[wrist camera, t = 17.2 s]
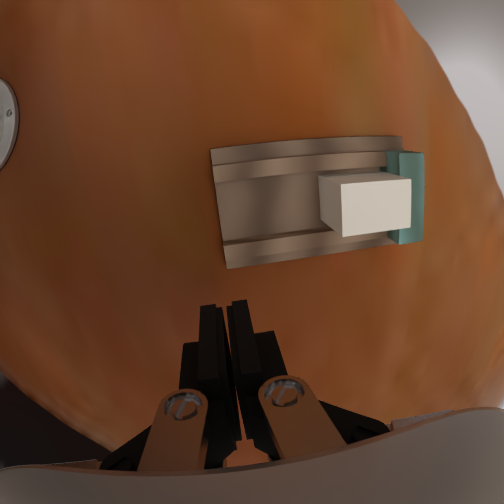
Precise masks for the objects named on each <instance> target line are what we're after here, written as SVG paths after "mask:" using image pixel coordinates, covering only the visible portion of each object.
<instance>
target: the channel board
mask: <svg viewBox="0 0 504 504" xmlns="http://www.w3.org/2000/svg"><path fill="white" fill-rule="evenodd" d="M210 150H211V158H212V167H213V175H214V182H215V188H216V195H217V203H218V210H219V217H220V224H221V231H222V238H223V246H224V253H225V260H226V265H227V269H232V268H239V267H246V266H252V265H259V264H266V263H273V262H279V261H286V260H293V259H299V258H306V257H312V256H319V255H325V254H332V253H338V252H345V251H351V250H358V249H364V248H370V247H376V246H383V245H389V244H395V243H397V244H399V245H400V244H406V243H412V242H418V241H422V237H423V218H424V153H420V152H413V151H406V150H403V147H402V136H358V137H332V138H314V139H300V140H287V141H276V142H265V143H256V144H247V145H238V146H230V147H222V148H215V149H210ZM369 171H383V172H387V173H391V174H395V175H398V176H402V177H406V178H409V179H411V227H410V228H403V229H396V230H389V231H382V232H375V233H368V234H361V235H354V236H346V237H342V236H341V235H339V234H338V233H337V232H336V231H334V230H333V229H332V228H331V227H330V226H328V225H327V224H326V223H325V222H323V221H322V220H321V215H320V198H319V182H318V175H329V174H341V173H354V172H369Z"/></svg>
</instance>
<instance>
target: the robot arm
mask: <svg viewBox="0 0 504 504" xmlns="http://www.w3.org/2000/svg"><path fill="white" fill-rule="evenodd" d="M18 122H19V113H18V104H17V99H16V97H15V94H14V91H13V90H12V88H11V87H10V85H9V84H8V83H7V82H6V81H4V80H2V79H0V169H1V168H2V167H3V166H4V164H5V163H6V161H7V160H8V158H9V156H10V154H11V152H12V149H13V146H14V143H15V140H16V136H17V131H18ZM226 307H227V317H228V328H229V338H230V347H231V353H230V348H229V343H228V337H227V332H226V327H225V321H224V316H223V310H222V307H218V308H216V304H212V305H204V306H200V325H199V341H198V342H190V343H184V344H183V351H182V361H181V371H180V382H179V390H176V391H173V392H171V393H169V394H168V395H166V396H165V397H164V398H163V399H162V400H161V402H160V404H159V406H158V409H157V412H156V415H155V418H154V421H153V424H152V425H151V426H149V427H148V428H147V429H145V430H144V431H143V432H141V433H140V434H138V435H137V436H136V437H134V438H133V439H131V440H130V441H128V442H127V443H126V444H124V445H123V446H121V447H120V448H118V449H117V450H115V451H114V452H112V453H111V454H110V455H108V456H107V457H106V458H105V459H104V460H103V461H102V462H98V461H97V460H96V459H95V460H88V461H80V462H69V463H59V464H47V465H21V466H14V467H8V468H4V469H1V470H0V504H504V409H501V408H497V407H476V408H466V409H462V410H457V411H454V410H445V411H440V412H436V413H430V414H425V415H420V416H414V417H408V418H402V419H395V420H392V421H391V423H390V424H384V423H382V422H380V421H378V420H376V419H373V418H369V417H366V416H363V415H360V414H357V413H354V412H351V411H348V410H345V409H342V408H339V407H337V406H334V405H331V404H328V403H325V402H323V401H320V400H318V399H317V398H316V396H315V395H314V393H313V391H312V390H311V388H310V387H309V385H308V384H307V383H306V382H305V381H304V380H302V379H301V378H299V377H295V376H291V375H288V374H287V371H286V368H285V364H284V361H283V358H282V355H281V352H280V349H279V346H278V342H277V339H276V336H275V333H274V331H268V332H262V333H255V334H254V331H253V327H252V322H251V318H250V313H249V308H248V304H247V300H239V301H233V302H232V306H226ZM231 357H232V359H231ZM235 386H236V387H235ZM236 391H237V395H238V400H239V405H240V410H241V414H242V419H243V424H244V428H245V433H246V437H247V440H248V439H253V441H254V446H255V448H257V449H259V450H261V451H263V452H265V453H267V455H268V460H269V462H265V463H259V464H252V465H244V466H236V467H227V460H226V457H228V456H229V455H230V454H231V453H232V452H233V451H234V450H237V447H236V441H241V440H242V436H241V428H240V420H239V412H238V404H237V395H236Z"/></svg>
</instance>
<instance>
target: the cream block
mask: <svg viewBox="0 0 504 504" xmlns="http://www.w3.org/2000/svg"><path fill="white" fill-rule="evenodd" d="M318 182H319V198H320V215H321V220H322V221H323V222H325V223H326V224H327V225H328V226H330V227H331V228H332V229H333V230H334V231H336V232H337V233H338V234H339V235H341V236H342V237H346V236H354V235H361V234H368V233H375V232H382V231H389V230H396V229H403V228H410V227H411V179H409V178H406V177H402V176H398V175H395V174H391V173H387V172H383V171H369V172H354V173H341V174H329V175H318Z"/></svg>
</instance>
